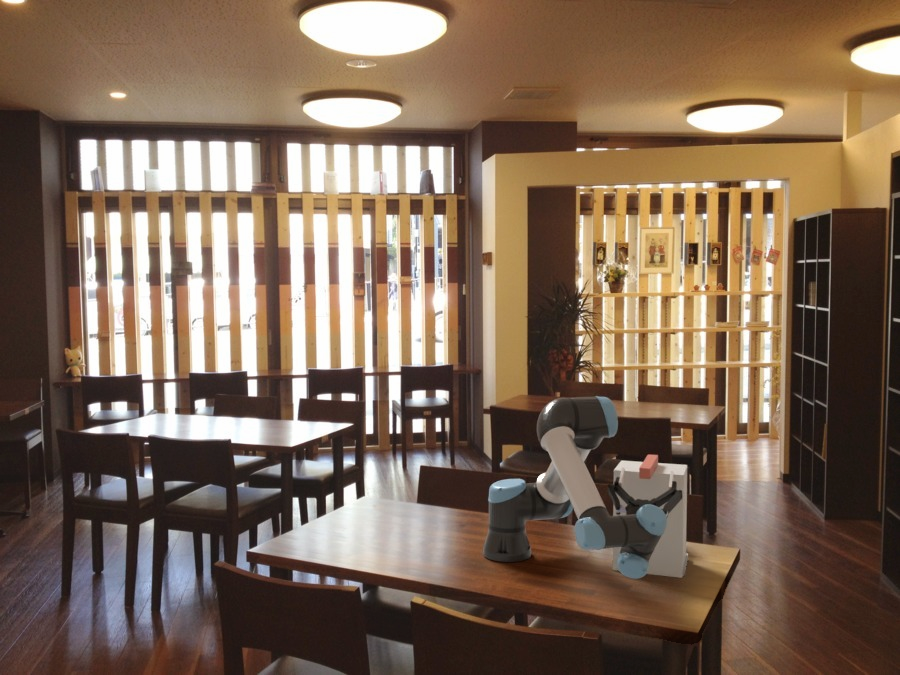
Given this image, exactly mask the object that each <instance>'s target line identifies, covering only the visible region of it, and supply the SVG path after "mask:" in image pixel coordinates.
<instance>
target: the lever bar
mask: <svg viewBox="0 0 900 675" xmlns="http://www.w3.org/2000/svg"><path fill="white" fill-rule="evenodd" d="M642 462H643V463H642V465H641V466H640V468H639V478H640V479H651V477H652V475H653V473H654V471H655V469H656V468H657V466H658V463H659V454H647V455H646V457H645V458H644V460H643V461H642Z"/></svg>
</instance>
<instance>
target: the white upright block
mask: <svg viewBox="0 0 900 675" xmlns="http://www.w3.org/2000/svg"><path fill="white" fill-rule="evenodd" d="M643 462H644V461H634V460H620V462H618V464H617V465H616V467H615V468H614V469H613V483H614V482H615V481H616V477H620V474H621V469H622V467H623V468H625V478H624V483H623V489H624V490H625V491H626V492H627V493H628V494H629V495H630V496H632V497H633V498H634V499H635V500H637V499H641V500H649V501H650V500H652V499H653V498H657V497H659V496H660V495H662V494H663V493H665V492H666V491H668V490H669V480H670V473H671V471H673V473H674V480H673V481H676V482H677V489H676V490H682V500H681V501H680V502H679V503H678V504H677V505H676V506H675V507H674V508H673V509H672V510H671V512H670V513H669V514H668V518H667V525H666V528H665V530H664V534H663V535H662V536H661V538H660V540H659V541H658V543H657V545H656V547H655V549H654V551H653V553H652V555H651V557H650V559H649V567H648V569H647V573H646V575H652V576H653V575H655V576H665V577H670V578H679V579H680V578H681V579H682V578H683V577H684V576H685V575H686V571H687V567H688V562H687V561H689V553H688V552H687V516H688V515H687V514H688V513H687V511H688V510H687V508H688V507H687V506H688V464H682V463H681V464H679V463H678V464H677V463H666V462H665V463H662V462H658V466H657V468H656V469H655V471H654V473H653V475H652V477H651V479H640V478H639V468H640V466H641V465H642V463H643ZM615 493H616V492H615ZM616 495H617V497H618V499H619V501H620V504H622V505H623V507H626V506H627V504H626V503H625V502H624V501H623V500H622V499H621V497H620V496H619V495H618V494H617V493H616ZM612 503H613V502H612ZM665 504H666V503H665ZM665 504H663V505H662V506H660V507H659V508H660V509H661V508H662V507H664V505H665ZM612 506H613V507H612V508H613V509H612V510H613V511H612V516H619V515H626V512H621V513H620V514H619V515H617V514H616V508H615V505H614V503H613V504H612ZM619 552H620V547H615V548H612V561H611V568H612V571H619V569H618V555H619ZM686 566H687V567H686ZM619 572H620V571H619Z"/></svg>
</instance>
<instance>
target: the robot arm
mask: <svg viewBox="0 0 900 675" xmlns="http://www.w3.org/2000/svg"><path fill="white" fill-rule="evenodd" d="M618 418H619V417H618V412H617V409H616V407H615V404H614V402H613V401H612V400H611V399H610V398H609V397H606V396H598V395H596V396H595V395H594V396H577V397H558V398H555V399H553V400H551V401H550V402H548V403H547V404H546V405H545V406H544V407H543V408H542V410H541V411H540V413H539V415H538V419H537V422H536V434H537V438H538V439H537V440H538V442H539V445H540V446H541V448H542V449H543V450H544V451H546V452H548V454H549V458H550V459H551V462H550V464H549V466H548V468H547V470H546V471H545V472H543V473H541V474H540V475H539V476H538V477H537V479H536V481H535V482H529V483H528V482H527V483H526V480H524V479H522V478H507V479H501V480H498V481H496V482H495V481H494V482H493V483H492V484H491V485H490V486H489V489H488V498H487V501H488V531H487V533H486V534H487V535H486V538H485V541H484V544H483V548H482V555H483V557H484V558H485V559H487V560H490V561H494V562H500V563H516V562H517V563H518V562H522V561H526V560H529V559H530V558H531V556H532V547H531V544H530V542H529V537H528V535H527V530H526V529H527V528H526V524H527V523H526V522H529V521H540V520H558V519H562V518H566V517H568V516H569V515H570V514H571V513H572V512H573V511H574V513H575V516H576V518H577V519H578V520H576V522H575V525H574V535H575V541H576V543H577V546H578V547H579V548H581V549H582V550H585V551H589V550H590V551H594V550H595V551H600V550H603V549H613V548H615V547H620V552H619V555H618V569H619V573H620V574H622V575H623V577H624V576H625V577H627V578H630V579H633V580H634V579H637V580H638V579H641V578H643V577H644V576H646V575H647V574H646V573H647V569H648V567H649V559H650V557H651V555H652V553H653V551H654V549H655V547H656V545H657V543H658V541H659V540H660V538H661V536H662V535H663V534H664V530H665V528H666V525H667V518H668V514H669V513H670V512H671V510H672V509H673V508H674V507H675V506H676V505H677V504H678V503H679V502H680V501H681V500H682V490H676V489H677V482H676V481H673V480H674V473H673V471H671V473H670V480H669V490H668V491H666V492H665V493H663V494H662V495H660V496H659V497H657V498H653V499H652V500H650V501H649V500H641V499H637V500H635V499H634V498H633V497H632V496H630V495H629V494H628V493H627V492H626V491H625V490H624V489H623V483H624V478H625V468H623V467H622V469H621V474H620V477H616V481H615V482H614V481H613V484H607V492H608V495H609V497H610V499H611V501H612V503H614V505H615V508H616V514H617V515H619V514H620V513H621V512H626V515H619V516H613V515H611V514H610V513H609V511H608V510H607V507H606V505H605V503H604V501H603V499H602V497H601V495H600V492H599V490H598V488H597V486H596V484H595V482H594V480H593V477H592V476H591V473H590V472H589V469H588V468H587V465H586V463H585V461H586V459H587V457H588V455H589V453H590V452H591V450H595V449H597V448H598V447H599V446H600V445H601V443H602V442H603V439H604V438H608V439H610V438H612V437H613V438H614V437H615V435H617V432H618V428H619V427H618V426H619V420H618ZM615 492H616V493H617V494H618V495H619V496H620V497H621V499H622V500H623V501H624V502H625V503H626V504H627V506H626V507H623V505H622V504H620V501H619V499H618V497H617V495H616V493H615ZM665 503H666V504H665ZM663 504H665V505H664V507H662V508H661V509H660V508H659V507H660V506H662V505H663Z"/></svg>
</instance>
